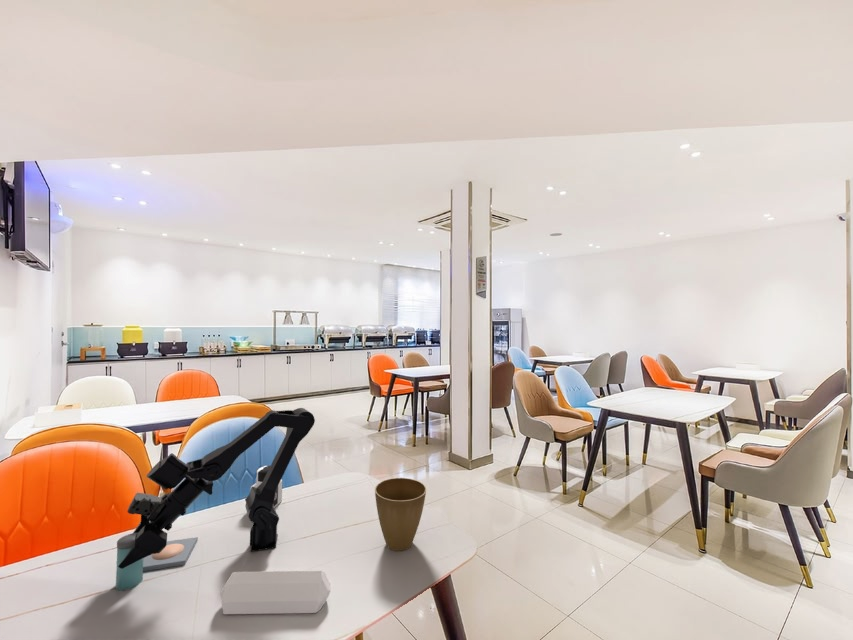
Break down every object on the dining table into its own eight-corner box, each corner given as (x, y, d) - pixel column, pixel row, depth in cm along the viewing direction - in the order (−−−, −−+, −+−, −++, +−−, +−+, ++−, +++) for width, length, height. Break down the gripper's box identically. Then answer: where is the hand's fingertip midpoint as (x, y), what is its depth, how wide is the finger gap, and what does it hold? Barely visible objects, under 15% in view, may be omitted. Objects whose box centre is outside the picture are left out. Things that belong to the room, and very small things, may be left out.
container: (282, 501, 129) (283, 464, 130) (270, 511, 122) (271, 472, 122) (261, 499, 130) (262, 463, 130) (249, 510, 122) (250, 471, 123)
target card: (197, 540, 104) (197, 536, 104) (185, 564, 94) (185, 560, 94) (152, 547, 101) (152, 543, 101) (134, 572, 91) (134, 568, 91)
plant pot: (364, 554, 100) (366, 495, 100) (385, 526, 114) (386, 475, 114) (416, 564, 96) (417, 503, 96) (431, 534, 110) (431, 481, 110)
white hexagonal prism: (335, 569, 88) (234, 570, 87) (330, 571, 82) (221, 572, 81) (331, 607, 84) (225, 609, 83) (325, 613, 78) (211, 615, 77)
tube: (146, 573, 90) (148, 531, 90) (137, 588, 85) (139, 542, 86) (121, 577, 89) (123, 534, 89) (110, 592, 84) (112, 546, 84)
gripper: (156, 468, 98) (100, 521, 91) (150, 496, 82) (81, 561, 76) (190, 491, 102) (138, 543, 95) (190, 521, 86) (128, 586, 80)
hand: (123, 556), depth 86 cm, fingers open, 9 cm apart
